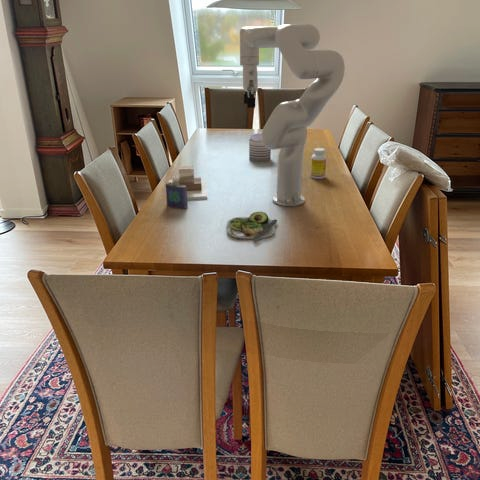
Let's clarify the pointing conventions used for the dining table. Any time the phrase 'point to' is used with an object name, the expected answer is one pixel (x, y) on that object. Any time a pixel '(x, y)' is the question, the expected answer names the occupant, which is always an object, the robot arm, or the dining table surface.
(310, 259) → the dining table surface
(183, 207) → the flask
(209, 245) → the dining table surface
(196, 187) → the plinth
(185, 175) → the birch block
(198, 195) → the plate
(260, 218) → the salad plate
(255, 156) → the can
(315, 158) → the supplement bottle
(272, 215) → the dining table surface
